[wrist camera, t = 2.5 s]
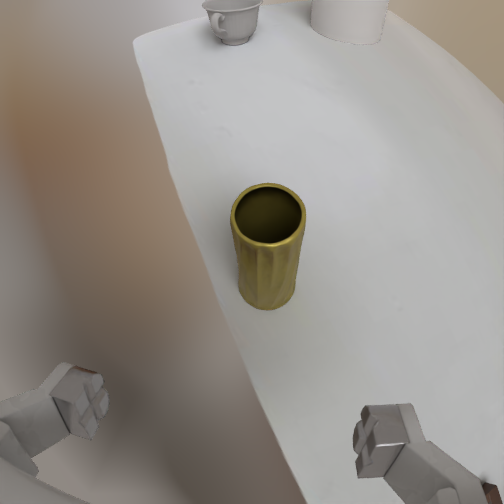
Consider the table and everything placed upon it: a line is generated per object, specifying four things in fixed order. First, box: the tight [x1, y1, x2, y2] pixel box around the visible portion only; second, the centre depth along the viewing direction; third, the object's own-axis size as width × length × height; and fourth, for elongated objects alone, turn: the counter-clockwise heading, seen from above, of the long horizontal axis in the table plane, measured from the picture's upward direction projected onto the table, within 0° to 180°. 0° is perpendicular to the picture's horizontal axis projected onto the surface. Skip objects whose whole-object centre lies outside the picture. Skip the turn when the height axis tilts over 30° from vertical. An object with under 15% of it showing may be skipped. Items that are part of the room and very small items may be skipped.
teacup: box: [202, 0, 263, 45], centre depth 53 cm, size 12×15×10 cm
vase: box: [230, 183, 306, 310], centre depth 28 cm, size 6×6×14 cm
